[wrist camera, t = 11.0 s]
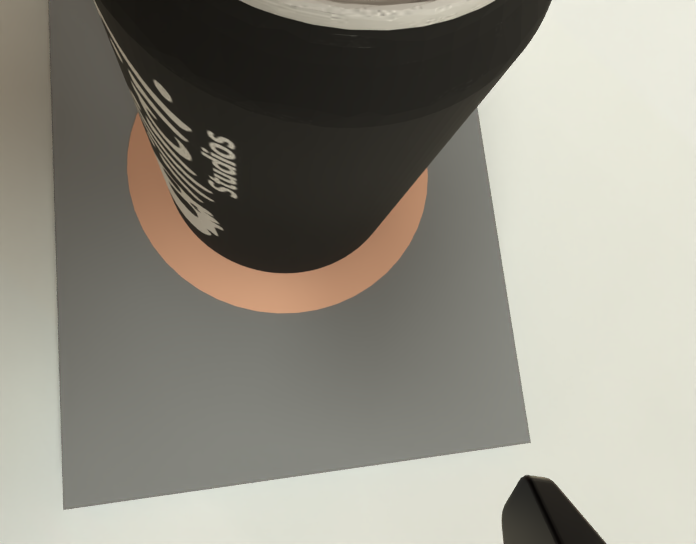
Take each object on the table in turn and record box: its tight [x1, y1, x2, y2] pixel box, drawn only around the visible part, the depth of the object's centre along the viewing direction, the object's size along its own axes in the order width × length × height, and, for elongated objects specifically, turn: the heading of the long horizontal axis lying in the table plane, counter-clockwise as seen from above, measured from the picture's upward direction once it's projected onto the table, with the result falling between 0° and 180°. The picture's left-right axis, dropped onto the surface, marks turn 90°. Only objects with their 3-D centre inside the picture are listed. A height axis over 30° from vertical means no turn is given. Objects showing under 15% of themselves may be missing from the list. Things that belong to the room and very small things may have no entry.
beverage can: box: [94, 0, 552, 273], centre depth 12 cm, size 7×7×12 cm
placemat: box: [49, 0, 531, 510], centre depth 18 cm, size 13×18×1 cm
